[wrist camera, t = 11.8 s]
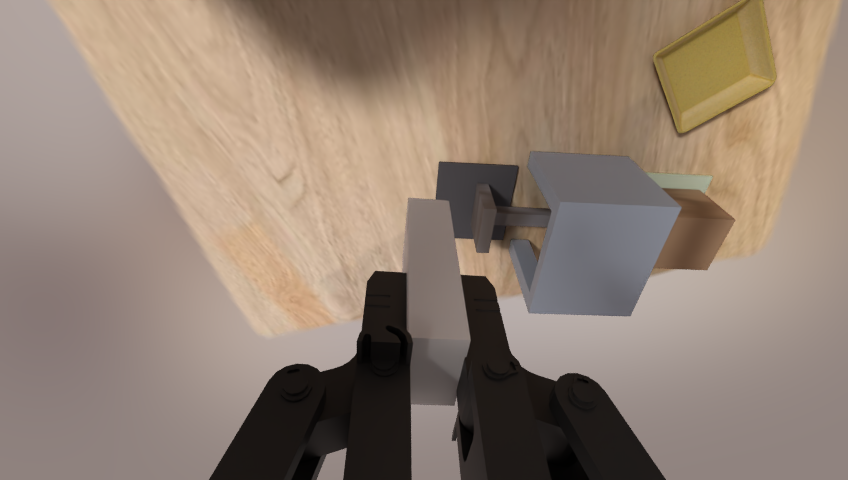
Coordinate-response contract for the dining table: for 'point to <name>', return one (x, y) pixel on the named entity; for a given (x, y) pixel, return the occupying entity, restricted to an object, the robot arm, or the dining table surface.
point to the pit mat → (473, 191)
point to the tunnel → (593, 235)
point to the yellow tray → (717, 64)
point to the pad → (681, 181)
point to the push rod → (683, 249)
